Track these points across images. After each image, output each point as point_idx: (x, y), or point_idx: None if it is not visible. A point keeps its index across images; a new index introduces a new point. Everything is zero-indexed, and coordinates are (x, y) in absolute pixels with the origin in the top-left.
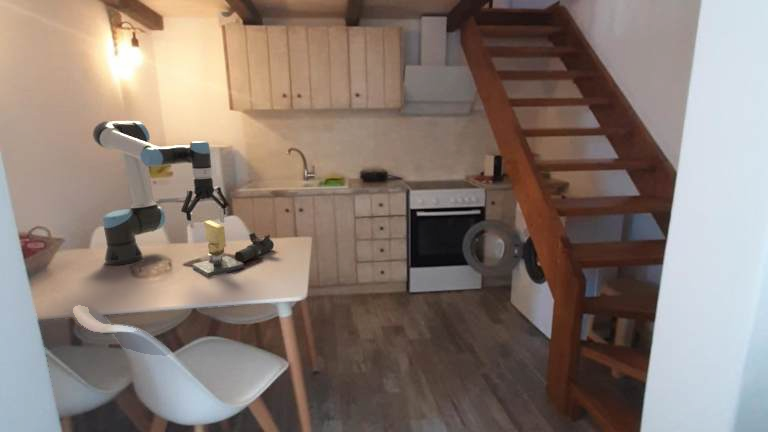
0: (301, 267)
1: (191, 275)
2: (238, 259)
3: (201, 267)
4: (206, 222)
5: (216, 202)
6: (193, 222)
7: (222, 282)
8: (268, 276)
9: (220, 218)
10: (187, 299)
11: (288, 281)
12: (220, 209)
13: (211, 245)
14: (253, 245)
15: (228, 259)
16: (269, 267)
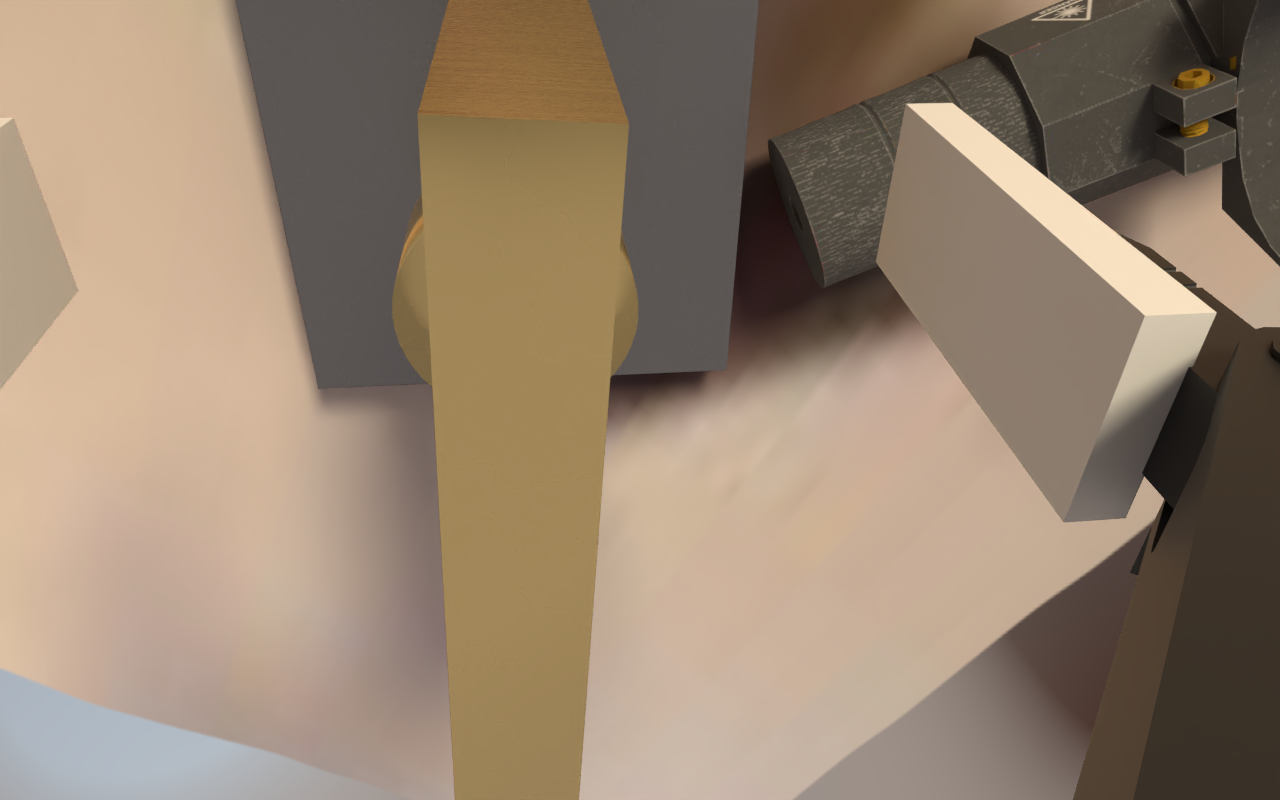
0: (1009, 618)
1: (174, 179)
2: (781, 183)
3: (301, 170)
4: (439, 298)
5: (1154, 614)
6: (4, 381)
7: (400, 536)
8: (732, 626)
9: (939, 175)
10: (74, 656)
11: (761, 748)
12: (1076, 399)
13: (429, 352)
14: (1093, 168)
15: (688, 120)
16: (870, 482)
